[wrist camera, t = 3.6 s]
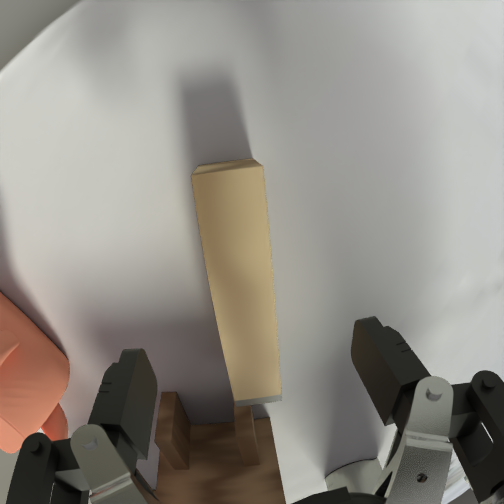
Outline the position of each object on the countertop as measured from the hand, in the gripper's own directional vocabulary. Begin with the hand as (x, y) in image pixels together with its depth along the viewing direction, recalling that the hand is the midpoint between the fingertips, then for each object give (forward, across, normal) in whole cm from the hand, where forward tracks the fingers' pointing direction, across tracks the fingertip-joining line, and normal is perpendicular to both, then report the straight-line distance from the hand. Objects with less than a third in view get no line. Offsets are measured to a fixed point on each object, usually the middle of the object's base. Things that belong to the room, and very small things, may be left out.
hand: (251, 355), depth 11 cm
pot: (+11, +26, +8) cm, 29 cm away
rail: (+11, 0, +2) cm, 11 cm away
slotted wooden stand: (+11, +5, +19) cm, 23 cm away
